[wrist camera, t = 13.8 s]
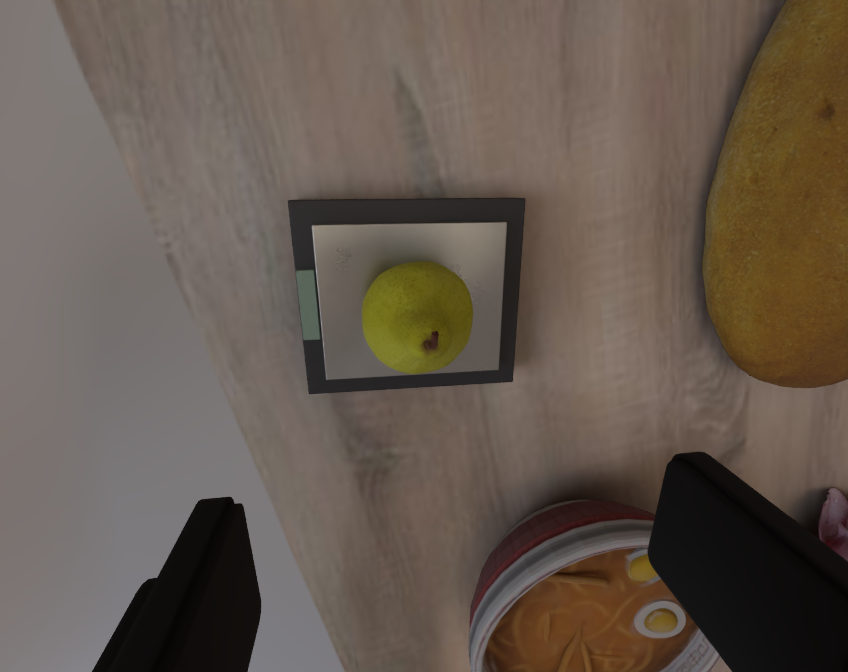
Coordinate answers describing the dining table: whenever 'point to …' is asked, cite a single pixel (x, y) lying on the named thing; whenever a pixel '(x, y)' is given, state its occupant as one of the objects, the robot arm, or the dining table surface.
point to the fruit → (417, 317)
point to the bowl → (581, 598)
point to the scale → (402, 212)
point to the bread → (785, 206)
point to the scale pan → (393, 245)
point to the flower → (834, 522)
